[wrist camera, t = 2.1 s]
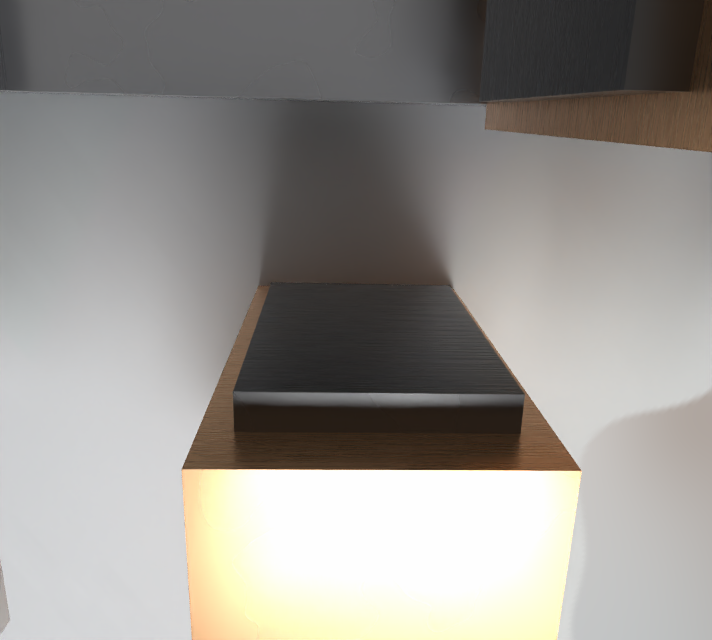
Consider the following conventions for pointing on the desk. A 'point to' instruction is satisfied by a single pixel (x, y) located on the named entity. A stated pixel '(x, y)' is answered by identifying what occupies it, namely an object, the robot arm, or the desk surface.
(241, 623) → the tan wooden block
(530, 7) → the rail
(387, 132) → the desk surface
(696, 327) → the desk surface
